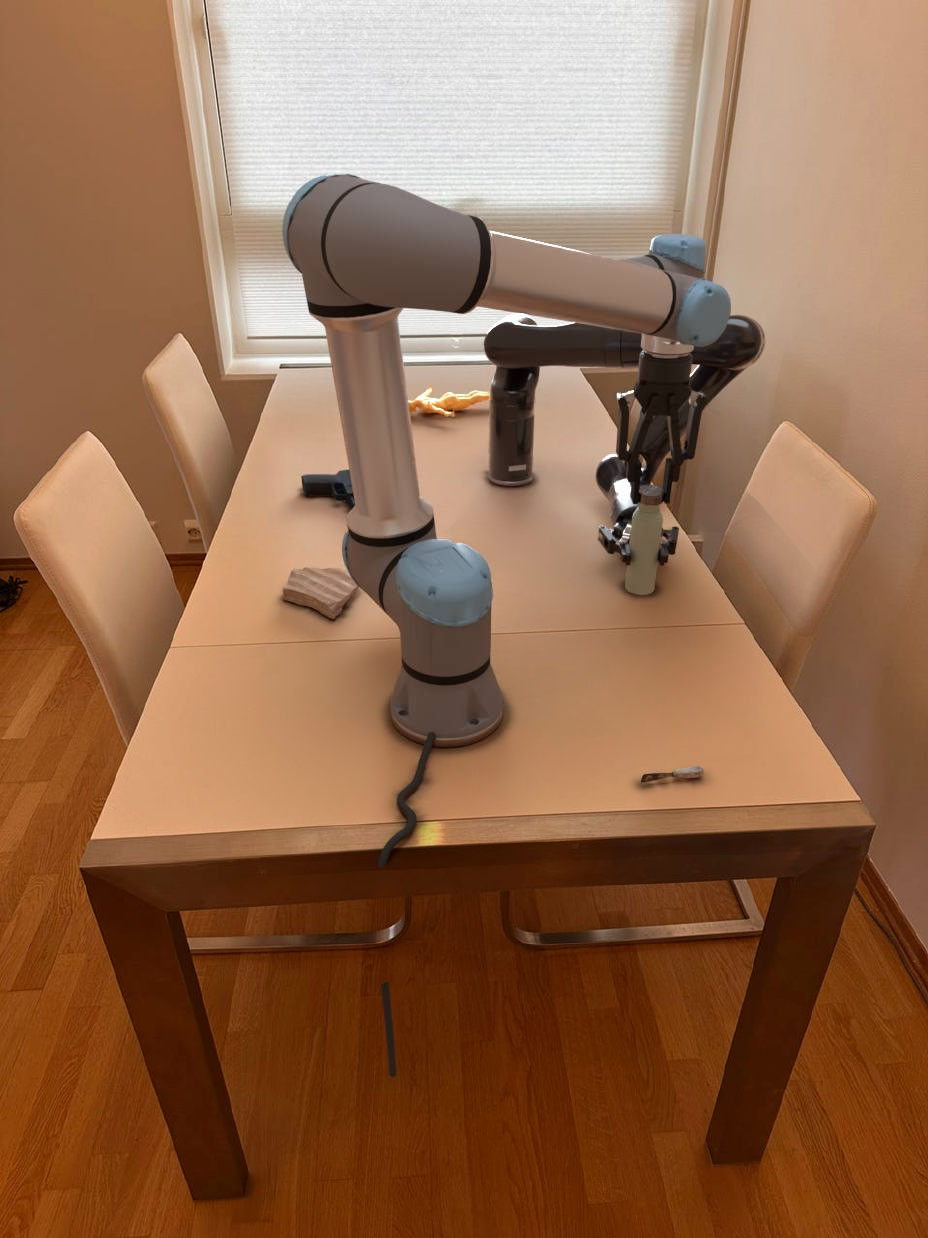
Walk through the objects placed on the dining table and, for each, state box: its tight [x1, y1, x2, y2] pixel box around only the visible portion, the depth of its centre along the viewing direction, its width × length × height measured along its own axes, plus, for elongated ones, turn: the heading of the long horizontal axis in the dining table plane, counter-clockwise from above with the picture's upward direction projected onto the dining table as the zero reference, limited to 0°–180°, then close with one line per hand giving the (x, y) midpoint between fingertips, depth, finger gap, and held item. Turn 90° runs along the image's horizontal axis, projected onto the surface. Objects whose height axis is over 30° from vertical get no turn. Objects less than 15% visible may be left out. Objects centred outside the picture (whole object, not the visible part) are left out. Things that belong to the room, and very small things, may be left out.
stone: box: [281, 566, 360, 620], centre depth 147 cm, size 13×12×3 cm
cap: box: [638, 484, 665, 506], centre depth 140 cm, size 4×4×2 cm
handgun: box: [301, 469, 355, 511], centre depth 178 cm, size 3×18×12 cm
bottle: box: [624, 503, 664, 596], centre depth 145 cm, size 5×5×17 cm
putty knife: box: [640, 765, 705, 784], centre depth 109 cm, size 1×8×2 cm, turn 103°
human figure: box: [408, 385, 490, 418], centre depth 225 cm, size 20×20×4 cm
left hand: (649, 499), depth 141 cm, fingers closed on cap, 4 cm apart
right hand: (645, 560), depth 144 cm, fingers closed on bottle, 5 cm apart
